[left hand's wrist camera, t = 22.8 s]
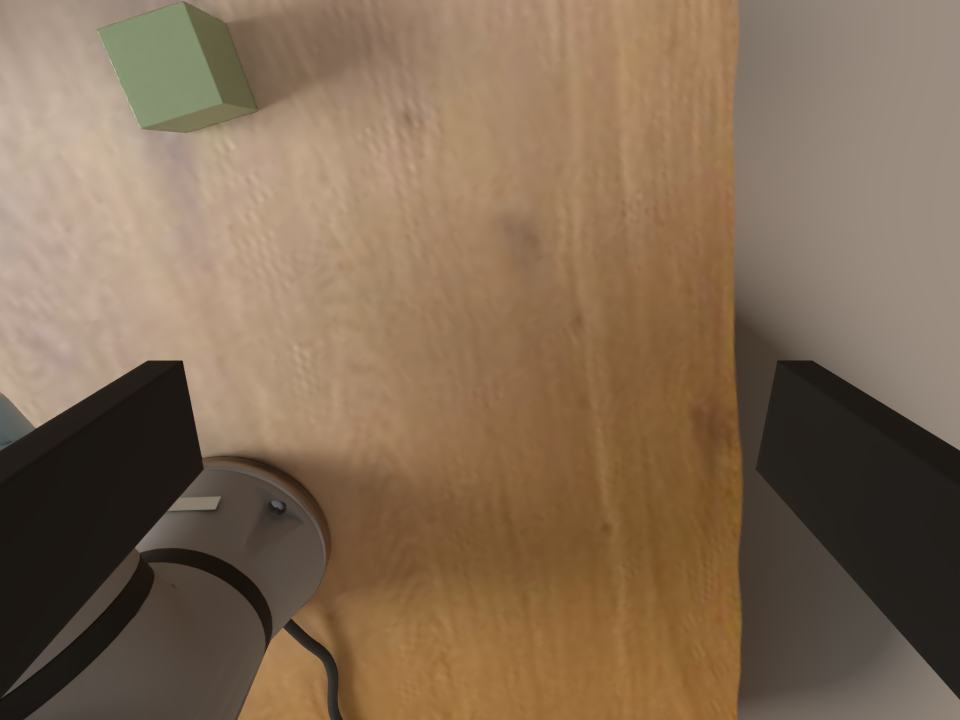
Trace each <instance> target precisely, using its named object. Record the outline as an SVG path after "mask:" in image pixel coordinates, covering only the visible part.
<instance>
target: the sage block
mask: <svg viewBox="0 0 960 720" xmlns="http://www.w3.org/2000/svg"><path fill="white" fill-rule="evenodd" d="M97 32H98V34H99V37H100V39H101V41H102V43H103V46H104V48H105V50H106V52H107V55H108V57H109V59H110V61H111V64H112V66H113V68H114V70H115V73H116V75H117V77H118V79H119V82H120V84H121V86H122V88H123V91H124V93H125V95H126V97H127V100H128V102H129V104H130V106H131V109H132V111H133V113H134V115H135V118H136V120H137V122H138V124H139V127H140V129H146V130H158V131H170V132H182V133H187V132H191V131H194V130H197V129H200V128H204V127H207V126H210V125H214V124H217V123H220V122H223V121H227V120H230V119H233V118H237V117H240V116H243V115H246V114H250V113H253V112H256V111H258V109H257V107H256V104H255V101H254V99H253V96H252V93H251V91H250V88H249V85H248V82H247V80H246V77H245V74H244V72H243V69H242V66H241V64H240V61H239V58H238V56H237V53H236V50H235V47H234V45H233V42H232V39H231V37H230V34H229V31H228V29H227V26H226V24H225V23H224V22H222V21H220V20H218V19H217V18H215V17H213V16H211V15H209V14H207V13H205V12H203V11H201V10H200V9H198V8H196V7H194V6H192V5H190V4H188V3H186V2H184V1H182V2H179V3H176V4H173V5H170V6H167V7H164V8H161V9H157V10H154V11H151V12H148V13H145V14H142V15H139V16H136V17H133V18H130V19H127V20H124V21H121V22H118V23H115V24H112V25H109V26H106V27H103V28H100V29H97Z"/></svg>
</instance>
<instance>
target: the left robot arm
mask: <svg viewBox="0 0 960 720" xmlns="http://www.w3.org/2000/svg"><path fill="white" fill-rule="evenodd" d="M756 470H757V471H758V472H759V473H760V475H761V476H762V477H763V478H764V479H765V480H766V481H767V482H768V484H769V485H770V486H771V487H772V488H773V489H774V490H775V491H776V493H777V494H778V495H779V496H780V497H781V498H782V499H783V500H784V502H785V503H786V504H787V505H788V506H789V507H790V508H791V510H792V511H793V512H794V513H795V514H796V515H797V516H798V517H799V519H800V520H801V521H802V522H803V523H804V524H805V525H806V526H807V528H808V529H809V530H810V531H811V532H812V533H813V534H814V535H815V537H816V538H817V539H818V540H819V541H820V542H821V543H822V545H823V546H824V547H825V548H826V549H827V550H828V551H829V552H830V554H831V555H832V556H833V557H834V558H835V559H836V560H837V561H838V563H839V564H840V565H841V566H842V567H843V568H844V569H845V570H846V572H847V573H848V574H849V575H850V576H851V577H852V578H853V579H854V581H855V582H856V583H857V584H858V585H859V586H860V587H861V588H862V590H863V591H864V592H865V593H866V594H867V595H868V596H869V598H870V599H871V600H872V601H873V602H874V603H875V604H876V605H877V607H878V608H879V609H880V610H881V611H882V612H883V613H884V615H885V616H886V617H887V618H888V619H889V620H890V621H891V622H892V624H893V625H894V626H895V627H896V628H897V629H898V630H899V631H900V633H901V634H902V635H903V636H904V637H905V638H906V639H907V640H908V642H909V643H910V644H911V645H912V646H913V647H914V648H915V650H916V651H917V652H918V653H919V654H920V655H921V656H922V657H923V659H924V660H925V661H926V662H927V663H928V664H929V665H930V666H931V668H932V669H933V670H934V671H935V672H936V673H937V674H938V675H939V677H940V678H941V679H942V680H943V681H944V682H945V683H946V685H947V686H948V687H949V688H950V689H951V690H952V691H953V692H954V694H955V695H956V696H957V697H958V698H959V699H960V450H958V449H956V448H955V447H953V446H951V445H950V444H948V443H946V442H945V441H943V440H941V439H940V438H938V437H937V436H935V435H933V434H932V433H930V432H928V431H927V430H925V429H923V428H922V427H920V426H919V425H917V424H915V423H914V422H912V421H910V420H909V419H907V418H905V417H904V416H902V415H900V414H899V413H897V412H896V411H894V410H892V409H891V408H889V407H887V406H886V405H884V404H883V403H881V402H879V401H878V400H876V399H874V398H873V397H871V396H869V395H868V394H866V393H864V392H863V391H861V390H860V389H858V388H856V387H855V386H853V385H851V384H850V383H848V382H846V381H845V380H843V379H842V378H840V377H838V376H837V375H835V374H833V373H832V372H830V371H828V370H827V369H825V368H823V367H822V366H820V365H819V364H817V363H815V362H814V361H777V366H776V371H775V376H774V381H773V386H772V391H771V396H770V401H769V406H768V411H767V416H766V421H765V426H764V431H763V436H762V441H761V446H760V451H759V456H758V461H757V466H756ZM330 548H331V541H330V533H329V528H328V525H327V522H326V519H325V517H324V515H323V513H322V511H321V509H320V507H319V506H318V504H317V503H316V501H315V500H314V499H313V498H312V496H311V495H310V494H309V493H308V492H307V491H306V490H305V489H304V488H303V487H302V486H301V485H300V484H298V483H297V482H296V481H295V480H293V479H292V478H290V477H289V476H288V475H286V474H284V473H283V472H281V471H279V470H277V469H275V468H273V467H271V466H268V465H266V464H263V463H260V462H257V461H253V460H249V459H244V458H237V457H210V458H203V459H202V456H201V451H200V446H199V441H198V436H197V431H196V426H195V421H194V416H193V411H192V406H191V401H190V396H189V391H188V386H187V381H186V376H185V371H184V366H183V361H146V362H145V363H143V364H141V365H140V366H138V367H136V368H135V369H133V370H132V371H130V372H128V373H127V374H125V375H123V376H122V377H120V378H118V379H117V380H115V381H114V382H112V383H110V384H109V385H107V386H105V387H104V388H102V389H100V390H99V391H97V392H95V393H94V394H92V395H91V396H89V397H87V398H86V399H84V400H82V401H81V402H79V403H77V404H76V405H74V406H73V407H71V408H69V409H68V410H66V411H64V412H63V413H61V414H59V415H58V416H56V417H55V418H53V419H51V420H50V421H48V422H46V423H45V424H43V425H41V426H40V427H38V428H35V427H34V426H33V425H32V424H31V423H30V422H29V421H28V420H27V419H26V417H25V416H24V415H23V414H22V413H21V412H20V411H19V410H18V409H17V408H16V407H15V406H14V404H13V403H12V402H11V401H10V400H9V399H8V398H7V397H6V396H4V395H3V394H2V393H0V720H238V717H239V715H240V712H241V710H242V708H243V705H244V703H245V700H246V698H247V695H248V693H249V691H250V688H251V686H252V683H253V681H254V679H255V676H256V674H257V671H258V669H259V667H260V664H261V662H262V659H263V657H264V654H265V652H266V650H267V647H268V645H269V643H270V641H271V640H272V639H273V638H274V636H275V635H276V634H277V633H278V632H279V631H280V630H281V629H282V628H284V629H285V630H286V631H287V632H288V633H289V634H290V635H292V636H293V637H294V638H295V639H296V640H297V641H298V642H299V643H300V644H301V645H302V646H304V647H305V648H306V649H308V650H309V651H310V652H312V653H313V654H315V655H316V656H317V657H319V658H320V659H321V661H322V662H323V664H324V666H325V668H326V671H327V675H328V711H329V715H330V718H331V720H343V719H342V717H341V715H340V712H339V708H338V672H337V667H336V664H335V661H334V659H333V657H332V655H331V654H330V653H329V652H328V650H327V649H326V648H325V647H323V646H322V645H321V644H320V643H318V642H317V641H315V640H314V639H313V638H311V637H310V636H309V635H308V634H307V633H306V632H305V631H303V630H302V629H301V628H300V627H299V626H298V625H297V624H296V623H295V622H294V621H293V620H292V619H291V618H292V617H293V616H294V614H295V613H296V612H297V611H298V610H299V609H300V608H301V607H302V606H303V605H305V604H306V603H307V602H308V601H309V600H310V598H311V597H312V596H313V595H314V593H315V592H316V590H317V588H318V587H319V584H320V582H321V580H322V577H323V574H324V572H325V569H326V566H327V563H328V560H329V556H330Z"/></svg>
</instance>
